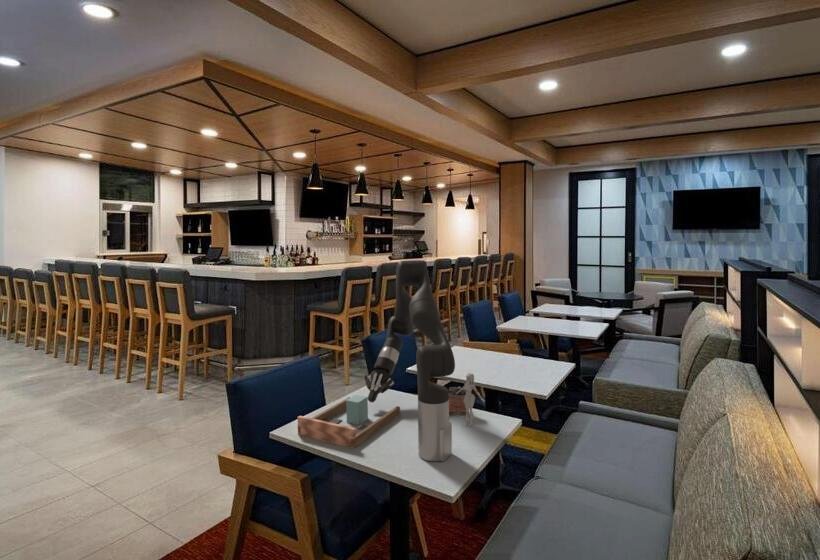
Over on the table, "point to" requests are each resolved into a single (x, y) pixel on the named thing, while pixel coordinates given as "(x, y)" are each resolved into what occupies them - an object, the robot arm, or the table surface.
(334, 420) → the trap pads
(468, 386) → the human figurine
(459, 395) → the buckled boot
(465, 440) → the table surface
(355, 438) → the lane box
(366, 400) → the block
